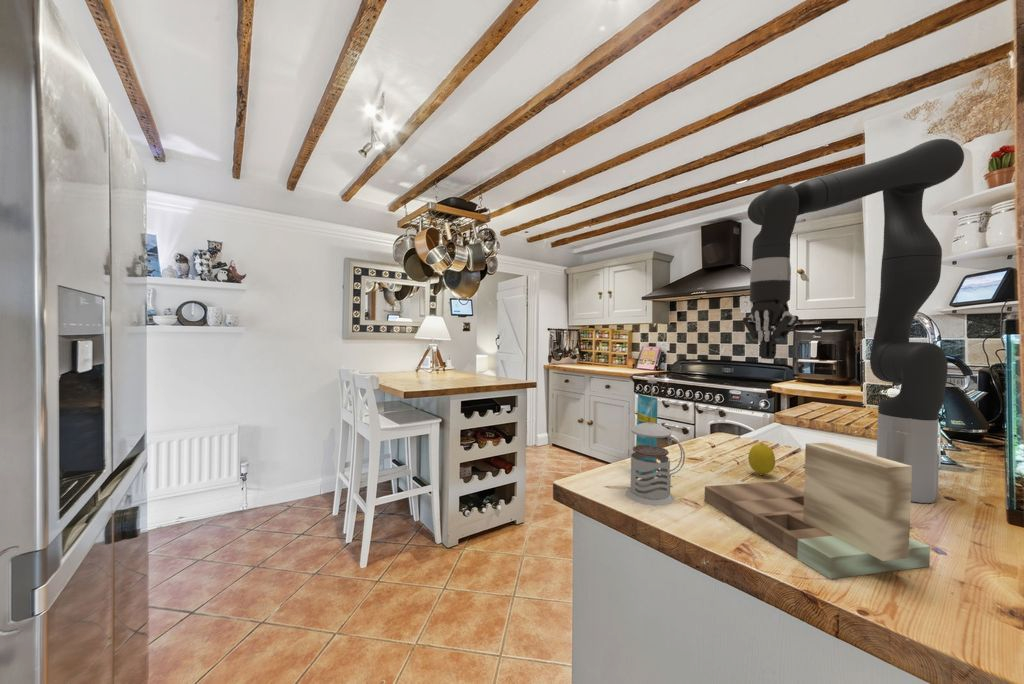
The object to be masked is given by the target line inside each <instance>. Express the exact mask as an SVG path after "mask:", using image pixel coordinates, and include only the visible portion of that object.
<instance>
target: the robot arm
mask: <svg viewBox="0 0 1024 684" xmlns="http://www.w3.org/2000/svg"><path fill="white" fill-rule="evenodd" d="M964 161H965V152H964V149H963V148H962V147H961V144H959V143H957V141H954V140H951V139H950V138H949V139H948V138H935V139H931V140H928V141H925V142H922V143H920V144H918V145H915V146H914V147H912V148H910V149H907V150H906V151H904V152H901V153H898V154H896V155H893V156H890V157H888V158H885V159H881V160H879V161H874V162H871V163H869V164H868V163H867V164H864V165H861V166H857V167H853V168H849V169H844V170H841V171H838V172H834V173H829V174H825V175H821V176H818V177H814V178H810V179H807V180H805V181H802V182H800V183H799V184H796V185H795V186H792V185H789V184H786V183H783V184H782V183H780V184H777V185H774V186H771V187H770V188H768V189H767V190H766V191H764V192H762V193H760V194H759V195H757V196H756V197H755V198H753V200H752V201H751V202H750V204H749V205H748V208H747V216H748V219H749V220H750V221H751V222H752V223H753V224H754V225H758V226H760V227H761V228H760V231H759V232H758V234H757V235H755V237H754V239H753V241H752V255H751V258H752V259H751V267H750V276H749V279H750V280H749V281H750V283H749V302H751V304H752V308H751V310H750V315H748V317H743V319H742V322H743V324H744V326H745V327H746V329H747V331H748V333H749V334H750V336H751V337H752V339H756V340H758V341H759V345H760V346H759V349H760V350H759V355H760V358H761V359H762V360H763V359H764V360H774V359H775V357H776V355H777V342H778V341H780V340H785V339H786V337H787V336H788V334H789V333H790V332H791V330H792V329H793V327H794V326H796V324H797V322H798V321H799V319H800V318H799V316H798V315H793V314H792V313H791V312H789V310H790V309H789V306H788V302H790V300H791V284H792V283H791V282H792V265H791V238H792V235H793V231H794V230H795V225H796V222H797V218H798V216H801V215H804V214H809V213H814V212H818V211H822V210H827V209H830V208H835V207H837V206H842V205H844V204H847V203H850V202H853V201H856V200H860V199H863V198H864V197H867V196H871V195H873V194H876V193H880V192H882V200H883V215H884V217H883V218H884V221H883V223H884V225H883V243H882V244H883V245H882V246H883V247H882V255H881V267H880V268H881V269H880V288H879V290H880V293H879V299H878V300H879V301H878V310H877V318H876V319H877V320H876V324H875V328H874V329H875V330H874V334H873V340H872V343H871V349H870V354H869V355H870V356H869V366H870V369H871V372H872V374H873V375H874V377H876V378H877V379H878V380H879V381H882V382H887V383H894V384H900V385H901V386H900V390H899V393H898V394H897V395H895V396H893V397H890V398H884V399H881V400H880V401H879V402H878V408H877V431H876V432H877V435H876V437H877V438H876V456H878V457H881V458H885V459H888V460H892V461H896V462H899V463H903V464H906V465H910V466H912V482H911V502H914V503H923V504H930V503H932V504H933V503H935V502H936V500H937V499H938V498H939V497H938V495H939V493H938V492H939V476H940V475H939V471H940V470H939V469H940V455H939V454H938V444H939V443H938V440H939V439H938V438H939V434H938V433H939V418H940V417H939V414H940V412H941V410H942V407H943V405H944V404H945V397H946V387H947V380H948V379H947V378H948V371H949V370H948V365H949V364H948V358H947V355H946V352H945V350H944V349H942V348H941V346H939V345H937V344H936V343H935V344H934V343H932V342H926V341H925V342H924V341H922V342H921V341H920V342H919V341H910V335H911V334H910V333H911V327H912V324H913V322H914V318H915V317H916V315H917V314H918V312H919V311H920V309H921V308H922V307H923V305H924V304H925V303H926V301H927V300H928V299H929V298H930V296H931V295H932V294H933V292H934V291H935V290H936V288H937V287H938V285H939V282H940V279H941V272H942V261H943V260H942V259H943V248H942V245H941V243H940V241H939V240H938V238H937V236H936V235H935V233H934V232H933V230H932V229H931V228H930V227H929V226H928V224H927V222H926V221H925V219H924V215H923V199H924V198H923V197H924V193H925V190H926V189H930V188H931V187H934V186H937V185H940V184H942V183H943V182H946V181H948V180H949V179H950V178H952V177H953V176H954V175H956V174H957V173H958V172H959V171H960V170H961V168H962V166H963V164H964Z"/></svg>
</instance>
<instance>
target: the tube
mask: <svg viewBox="0 0 1024 684" xmlns="http://www.w3.org/2000/svg"><path fill="white" fill-rule="evenodd" d="M636 413H637V414H636V417H637V418H636V425H638V424H641V423H649V422H651V396H649V395H644V394H640V393H637V412H636ZM652 422H653V423H656V424H658V397H654V396H652ZM635 441H636V444H635V446H638V445H648V446H649V445H650V437H644V436H639V435H636V440H635ZM657 443H658V438H652V437H651V446H652V445H653V446H656V447H658V444H657ZM644 460H654V461H656V462H657V460H658V459H656V458H653V457H644V458H642V459H641V460H640V461H644ZM651 471H652V472H657V471H656V470H651ZM641 473H643V472H638V474H641ZM646 475H648V474H646ZM652 478H655V476H652Z"/></svg>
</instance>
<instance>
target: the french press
mask: <svg viewBox="0 0 1024 684" xmlns="http://www.w3.org/2000/svg"><path fill="white" fill-rule="evenodd" d="M647 383H648V384H651V394H653V392H654V391H653V389H654V385H653V384H657V383H658V382H657V378H656V377H653V376H651V377H648V378H647ZM650 397H651V422H649V423H641V424H638V425H637V424H635V425H634V426H633V427H631V428H630V431H631V433H632V434H634V435H636V436H637V435H639V436H644V437H650V445H649V446H648V445H638V446H636V445H635V446H633V447H632V450H633V453H631V455H630V486H629V487H628V488H627V489H626V490H625V496H627V498H628V499H631V500H632V501H633V502H636V503H640V504H643V505H649V506H654V507H655V506H657V507H659V506H667V505H671V504H673V503H674V502H675V498H674V495H673V494H672V493H671V477H672V475H674V474H677V473H678V472H679V471H681V470H682V468H683V466H684V464H685V461H686V460H685V459H686V456H685V454H686V453H685V450H684V448H683V445H682V444H680V443H679V441H678V440H676V439H674V438H673V437H671V435H672V431H671V430H669V429H668V428H667V427H666V426H665V425H662V424H658V423H657V424H656V423H653V422H652V397H653V395H650ZM651 437H652V438H657V439H660V438H661V439H664V438H667V445H669V446H672V442H674V443H676V444H677V445H678V446H679V449H680V450H679V451H680V458H679V461H678V464H677V465H676V466H675V467H674V468H672V469H671V460H670V458H669V456H667V455H669V450H668V449H666V448H664V447H661V446H658V445H657V447H656V446H653V445H652V446H651ZM644 457H653V458H656V459H657V460H658V461H659V462H656V461H654V460H644V461H640V460H641V459H642V458H644ZM681 462H682V463H681ZM680 464H681V466H680ZM679 467H680V468H679ZM676 469H677V470H676ZM651 470H656V472H652V471H651ZM675 470H676V471H675ZM672 471H674V472H672ZM638 472H643V473H641V474H638ZM671 472H672V473H671ZM646 474H648V475H646ZM652 476H654V477H652ZM655 477H657V478H655Z"/></svg>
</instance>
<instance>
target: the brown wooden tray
mask: <svg viewBox="0 0 1024 684" xmlns="http://www.w3.org/2000/svg"><path fill="white" fill-rule="evenodd" d="M704 502H706V503H707V504H709V505H710V506H712V507H714V508H715V509H716V510H718V511H720V512H722V513H723V514H725V515H727V516H728V517H730V518H732V519H733V520H734V521H736V522H738V523H740V524H741V525H743V526H744V527H746V528H747V529H749V530H751V531H752V532H754V533H755V534H756V535H758V536H760V537H762V538H763V539H765V540H766V541H768V542H770V543H771V544H773V545H774V546H776V547H778V548H779V549H781V550H783V551H784V552H786V553H788V554H789V555H790V556H792V557H794V558H796V560H798V561H801V562H802V563H803V564H805V565H807V566H808V567H810V568H812V569H813V570H814V571H816V572H818V573H819V574H821V575H822V576H824V577H826V578H827V579H829V580H831V579H832V580H833V579H839V578H840V579H841V578H848V577H857V576H864V575H873V574H880V573H886V572H887V573H888V572H895V571H903V570H904V571H905V570H912V569H918V568H926V567H927V568H928V567H930V561H931V559H930V558H931V556H930V555H931V546H930V545H928V544H925V543H923V542H920V541H918V540H917V539H915V538H911V537H909V558H905V559H896V560H888V561H882V560H880V559H878V558H876V557H874V556H872V555H870V554H868V553H866V552H864V551H862V550H860V549H858V548H856V547H854V546H852V545H850V544H849V543H847V542H845V541H843V540H841V539H839V538H837V537H835V536H833V535H831V534H829V533H827V532H825V531H823V530H821V529H819V528H817V527H815V526H813V525H811V524H809V523H807V522H805V521H803V510H804V490H803V491H802V490H801V489H798V488H796V487H793V486H791V485H789V484H786V483H784V482H782V481H780V480H779V481H766V482H764V481H763V482H750V483H737V484H736V483H735V484H734V483H733V484H722V485H720V484H719V485H706V486H704Z"/></svg>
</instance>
